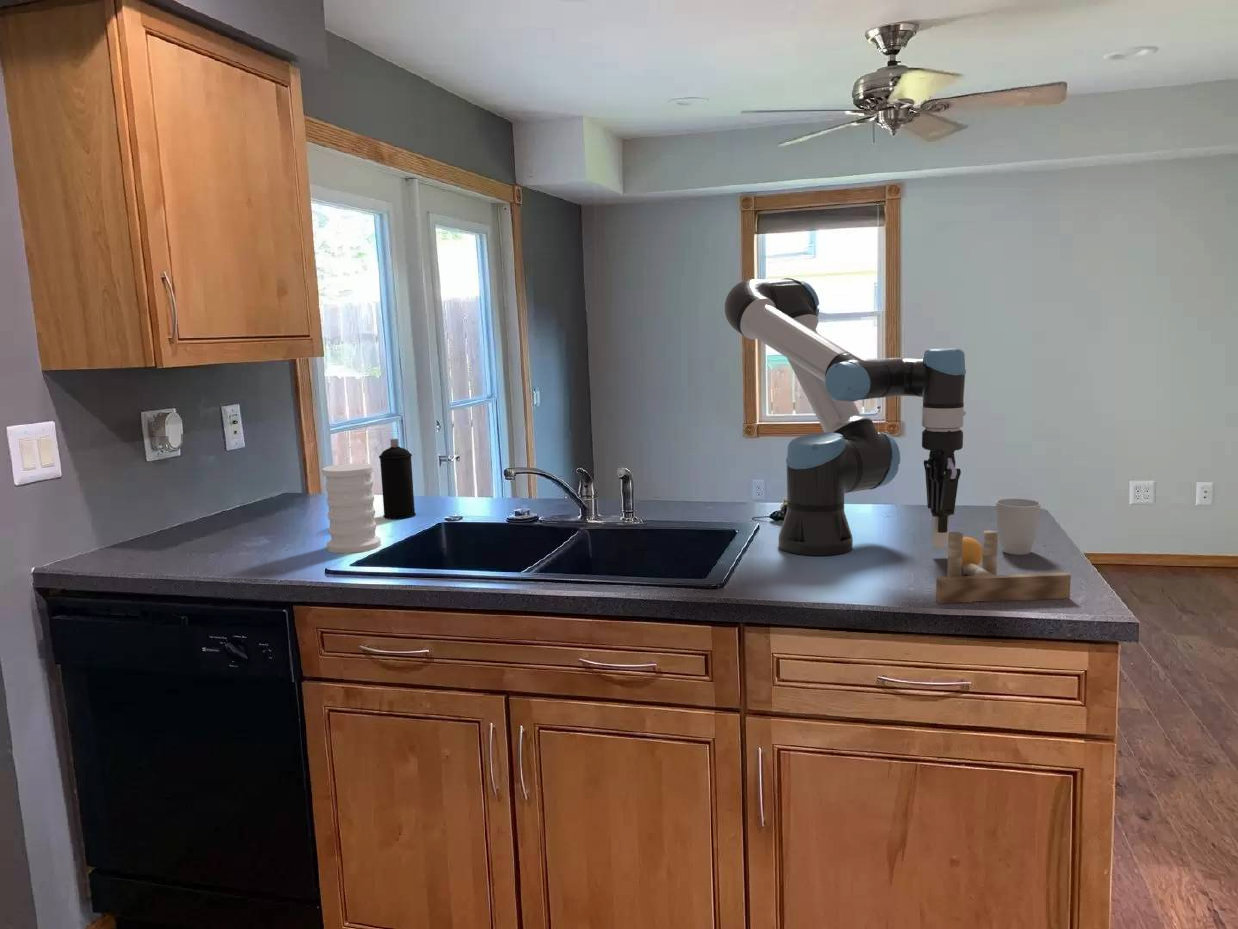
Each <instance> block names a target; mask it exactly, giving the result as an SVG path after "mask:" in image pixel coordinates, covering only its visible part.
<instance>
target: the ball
mask: <svg viewBox="0 0 1238 929" xmlns="http://www.w3.org/2000/svg"><path fill="white" fill-rule="evenodd" d="M982 561H983V546H982V544H981V543H980V542H979V541H978V540H976V539H975V538H973V537H969V536H963V542H962V569H963V566H964V565H965V564H966V563H968V562H971V563H973V564H975V565H977V566H979V564H980V563H981V562H982Z"/></svg>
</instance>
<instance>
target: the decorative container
mask: <svg viewBox="0 0 1238 929" xmlns="http://www.w3.org/2000/svg"><path fill="white" fill-rule="evenodd" d="M374 469H375V468H374V464H373V463H362V462H357V463H356V462H355V463H351V462H350V463H341V464H334V465H328V466H325V467H323V468H321V471H322V472H321V474H322V476H324V477H325V478H326V479H325V480H326V483H325V485H324V486H325V491H327V492H326V493H327V497H326V500H325V501H326V505H327V506H328V512H327V518H328V520H329V527H328V532H329V535H330V539H331V540H329V541H327V542H326V550H327V551H328V552H330V553H334V554H356V553H363V552H368V551H372V550H375V549H378V548H380V546H381V545H382V544H381V537H379V536H377V535H376V530H377V524H376V522H375V516H376V510H375V509H376V508H375V507H374V502H375V501H374V500H375V496H374V493H373V487H374V482H373V480H372V473H374V472H375V471H374Z"/></svg>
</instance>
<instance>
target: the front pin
mask: <svg viewBox="0 0 1238 929" xmlns="http://www.w3.org/2000/svg"><path fill="white" fill-rule="evenodd" d="M962 573H964V574H965V575H967V576H987V575H994V574H992V573H990V572H988V571H987V570H985V569H983V568H982V566H979V565H975V564H973V563H971V562H968V563H966V564H965V565H964V566H963V568H962Z"/></svg>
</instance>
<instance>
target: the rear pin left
mask: <svg viewBox="0 0 1238 929" xmlns="http://www.w3.org/2000/svg"><path fill="white" fill-rule="evenodd" d="M982 541H983V543H982V549H983V557H982V566H981V568H983V569H985V570H987V571H988V572H990V573H992V574H994V575H998V574H997V570H998V546H999V544H998V543H999V534H998V531H996V530H984V531H983V540H982Z"/></svg>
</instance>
